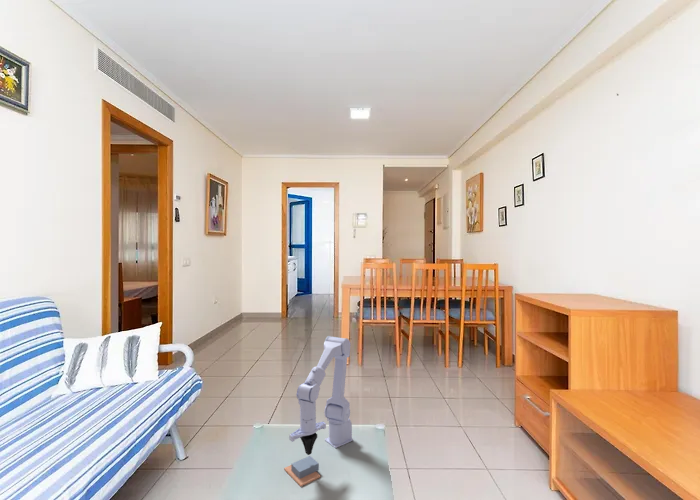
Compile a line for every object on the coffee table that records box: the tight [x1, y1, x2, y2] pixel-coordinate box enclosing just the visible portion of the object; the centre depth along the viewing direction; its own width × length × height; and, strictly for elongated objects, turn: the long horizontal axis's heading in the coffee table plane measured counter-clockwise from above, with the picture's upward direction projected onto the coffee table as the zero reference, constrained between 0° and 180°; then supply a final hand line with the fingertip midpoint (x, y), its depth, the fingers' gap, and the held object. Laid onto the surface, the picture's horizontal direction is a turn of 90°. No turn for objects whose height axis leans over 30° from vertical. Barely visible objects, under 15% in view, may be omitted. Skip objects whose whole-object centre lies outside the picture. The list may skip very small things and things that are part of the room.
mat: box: [283, 464, 321, 487], centre depth 131 cm, size 8×12×1 cm, turn 38°
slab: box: [290, 455, 320, 479], centre depth 131 cm, size 2×6×8 cm
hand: (308, 453), depth 132 cm, fingers closed
